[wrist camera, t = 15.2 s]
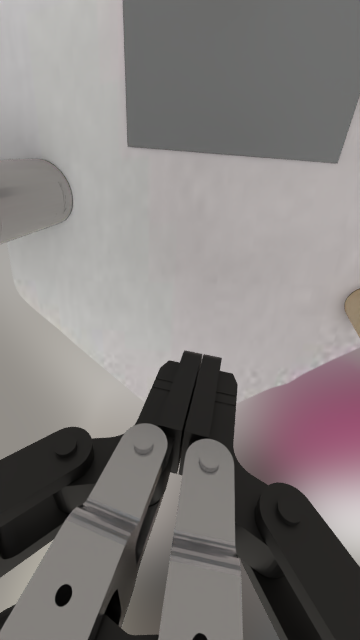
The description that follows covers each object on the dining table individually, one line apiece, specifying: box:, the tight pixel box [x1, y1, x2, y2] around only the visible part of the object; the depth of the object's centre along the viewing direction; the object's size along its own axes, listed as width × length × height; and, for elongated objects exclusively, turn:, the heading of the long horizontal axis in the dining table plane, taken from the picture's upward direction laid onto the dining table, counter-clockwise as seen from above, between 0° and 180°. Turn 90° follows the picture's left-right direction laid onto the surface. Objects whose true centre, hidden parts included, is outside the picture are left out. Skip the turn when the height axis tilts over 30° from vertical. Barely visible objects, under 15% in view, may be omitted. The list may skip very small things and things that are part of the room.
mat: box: [123, 0, 360, 163], centre depth 27 cm, size 26×24×1 cm
